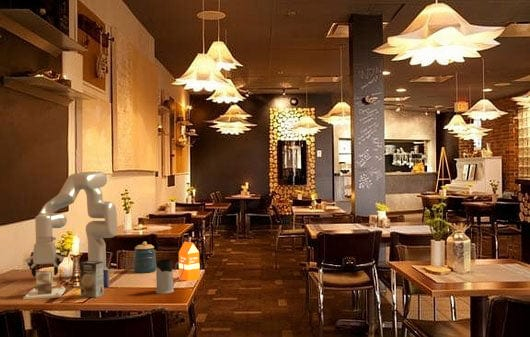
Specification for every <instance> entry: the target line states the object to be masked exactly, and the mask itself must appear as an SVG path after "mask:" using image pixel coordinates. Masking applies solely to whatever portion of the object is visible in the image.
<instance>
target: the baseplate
mask: <svg viewBox="0 0 530 337" xmlns="http://www.w3.org/2000/svg"><path fill="white" fill-rule="evenodd" d="M65 291H66V288H65V286H61V287H60V288H59V287H58V288H52V293H51V294H42V295H38V289H36V288H31V290H30V291H29V292H28V293H26V294H25V295H24V296H23V298H22V299H23V300H37V299H53V298H56V299H57V298H60V297H61V296H62V295H63V294H64V293H65Z"/></svg>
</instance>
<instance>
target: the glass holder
mask: <svg viewBox="0 0 530 337" xmlns="http://www.w3.org/2000/svg"><path fill="white" fill-rule="evenodd" d="M179 263H182V262H179V261H178V262H176V263H175V266H174V267H175V268H174V270H173V260H172V259H168V258H167V259H157V260H156V271H155V272H156V273H155V274H156V279H155V280H156V291H155V293H156V294H159V295H160V294H170V293H174V292H175V290H174V286H175V284H176V283H177V282H179V280H181V279H180V278H181V277H182V275H183V272H184V264H183V272H182V275H181V276H180V278H179V277H178V279H176V280H175V281H174V275H173V274H174V272H176V270H177V265H179Z"/></svg>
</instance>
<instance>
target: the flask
mask: <svg viewBox="0 0 530 337" xmlns="http://www.w3.org/2000/svg"><path fill="white" fill-rule="evenodd" d="M109 270H110V269H109V268H107V269H103V279H104V288H109V287H110V285H111V284H110V273H109Z"/></svg>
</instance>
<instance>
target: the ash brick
mask: <svg viewBox="0 0 530 337" xmlns="http://www.w3.org/2000/svg"><path fill="white" fill-rule="evenodd" d="M53 280H54V269H53V270H52V269H51V270H39V271H38V272H36V276H35V285H37V284H50V283H51V282H52V283H53Z"/></svg>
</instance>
